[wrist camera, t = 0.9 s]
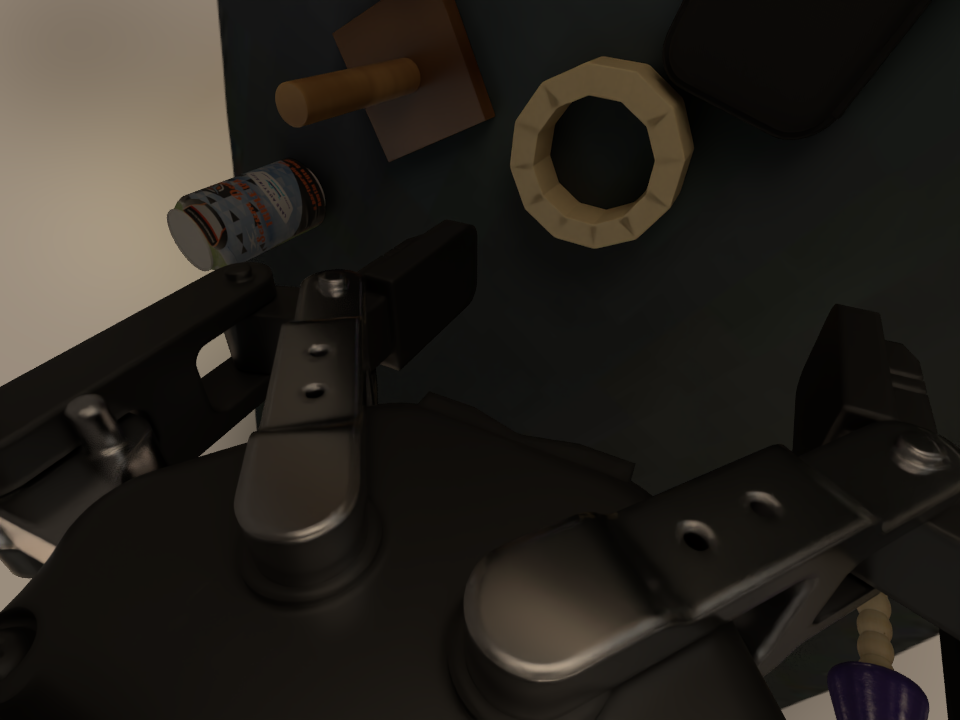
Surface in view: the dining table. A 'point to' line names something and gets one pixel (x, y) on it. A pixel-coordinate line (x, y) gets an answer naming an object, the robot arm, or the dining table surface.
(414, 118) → the peg stand
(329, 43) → the dining table surface
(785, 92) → the carrying case
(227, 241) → the beverage can
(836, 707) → the purple spotted mushroom
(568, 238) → the tape roll
